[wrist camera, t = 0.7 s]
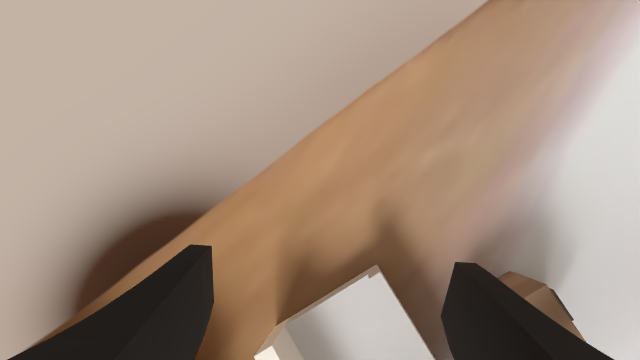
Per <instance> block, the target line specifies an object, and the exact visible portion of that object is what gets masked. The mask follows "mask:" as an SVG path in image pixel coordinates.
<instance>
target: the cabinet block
mask: <svg viewBox="0 0 640 360" xmlns="http://www.w3.org/2000/svg"><path fill="white" fill-rule="evenodd" d="M498 279H499V280H500V281H501V282H503V283H504V284H505V285H507V286H508V287H509V288H511V289H512V290H513V291H514V292H516V293H517V294H518V295H520V296H521V297H522V298H524V299H525V300H526V301H528V302H529V303H530V304H532V305H533V306H534V307H536V308H537V309H539V310H540V311H541V312H543V313H544V314H545V315H547V316H548V317H550V318H551V319H552V320H554V321H555V322H557V323H558V324H560V325H561V326H563V327H564V328H565V329H567V330H568V331H570V332H571V333H573V334H574V335H576V336H577V337H579V338H580V339H582V340H583V341H585V340H584V338H583V337H582V335H581V334H580V333H579V331H578V330H577V328H576V327H575V325H574V324H573V322H572V321H573V320H574V319H573V318H572V316H571V315H570V313H569V312H568V311H567V309H566V308H565V306H564V305H563V303H562V302H561V300H560V299H559V297H558V296H557V295H556V293H555V292H554V290H553V289H550V288H548V286H547V285H546V284H543V283H541V282H538V281H535V280H532V279H530V278H527V277H524V276H522V275H519V274H516V273H513V272H511V271H509V272H508V273H506V274H504V275H503V276H501V277H499V278H498ZM585 342H586V341H585Z"/></svg>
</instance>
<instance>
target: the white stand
mask: <svg viewBox="0 0 640 360" xmlns="http://www.w3.org/2000/svg"><path fill="white" fill-rule="evenodd" d="M254 358H255V360H436V358H435V357H434V355H433V354H432V352H431V350H430V349H429V347H428V346H427V344H426V342H425V341H424V339H423V338H422V336H421V334H420V333H419V331H418V330H417V328H416V326H415V325H414V323H413V321H412V320H411V318H410V317H409V315H408V313H407V312H406V310H405V309H404V307H403V305H402V304H401V302H400V301H399V299H398V297H397V296H396V294H395V293H394V291H393V289H392V288H391V286H390V285H389V283H388V281H387V280H386V278H385V276H384V275H383V273H382V272H381V270H380V268H379V267H378V265H377V264H376V265H374V266H372V267H371V268H369V269H368V270H366V271H364V272H363V273H361V274H359V275H358V276H356V277H355V278H353V279H351V280H350V281H348V282H346V283H345V284H343V285H342V286H340V287H338V288H337V289H335V290H333V291H332V292H330V293H328V294H327V295H325V296H324V297H322V298H320V299H319V300H317V301H315V302H314V303H312V304H311V305H309V306H307V307H306V308H304V309H302V310H301V311H299V312H298V313H296V314H294V315H293V316H291V317H289V318H288V319H286V320H284V321H283V322H281V323H280V324H278V325H276V326H275V328H274V329H273V330H272V332H271V333H270V335H269V336H268V337H267V339H266V340H265V342H264V343H263V344H262V346H261V347H260V349H259V350H258V351H257V353H256V354H255V356H254Z"/></svg>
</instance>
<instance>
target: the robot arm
mask: <svg viewBox="0 0 640 360" xmlns="http://www.w3.org/2000/svg"><path fill="white" fill-rule="evenodd" d="M213 303H214V293H213V269H212V246H204V245H189V246H188V247H186V248H185V249H184V250H182V251H181V252H180V253H178V254H177V255H176V256H175V257H173V258H172V259H171V260H169V261H168V262H167V263H165V264H164V265H163V266H162V267H160V268H159V269H158V270H156V271H155V272H154V273H152V274H151V275H149V276H148V277H147V278H145V279H144V280H143V281H141V282H140V283H139V284H137V285H136V286H134V287H133V288H131V289H130V290H128V291H127V292H125V293H124V294H123V295H121V296H120V297H118V298H117V299H115V300H114V301H112V302H111V303H109V304H108V305H106V306H105V307H103V308H102V309H100V310H98V311H97V312H95V313H94V314H92V315H90V316H89V317H87V318H85V319H84V320H82V321H80V322H78V323H77V324H75V325H73V326H71V327H70V328H68V329H66V330H64V331H63V332H61V333H59V334H57V335H55V336H54V337H52V338H50V339H48V340H46V341H44V342H42V343H40V344H38V345H36V346H34V347H32V348H30V349H28V350H26V351H24V352H22V353H20V354H18V355H16V356H14V357H12V358H10V359H8V360H194V359H195V356H196V354H197V352H198V349H199V347H200V344H201V342H202V340H203V337H204V335H205V331H206V328H207V325H208V321H209V318H210V314H211V311H212V307H213ZM441 318H442V322H443V326H444V330H445V333H446V337H447V340H448V344H449V347H450V350H451V353H452V355H453V358H454V360H614V359H612V358H610V357H609V356H607V355H605V354H604V353H602V352H600V351H599V350H597V349H596V348H594V347H592V346H591V345H589V344H588V343H586V342H585V341H583V340H582V339H580V338H579V337H577V336H576V335H574V334H573V333H571V332H570V331H568V330H567V329H565V328H564V327H563V326H561V325H560V324H558V323H557V322H555V321H554V320H552V319H551V318H550V317H548V316H547V315H545V314H544V313H543V312H541V311H540V310H539V309H537V308H536V307H534V306H533V305H532V304H530V303H529V302H528V301H526V300H525V299H524V298H522V297H521V296H520V295H518V294H517V293H516V292H514V291H513V290H512V289H511V288H509V287H508V286H507V285H505V284H504V283H503V282H501V281H500V280H499V279H497V278H496V277H495V276H493V275H492V274H491V273H489V272H488V271H486V270H485V269H483V268H482V267H481V266H479V265H477V264H476V263H463V262H455V265H454V269H453V273H452V276H451V280H450V284H449V288H448V291H447V295H446V299H445V302H444V306H443V310H442V314H441Z"/></svg>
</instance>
